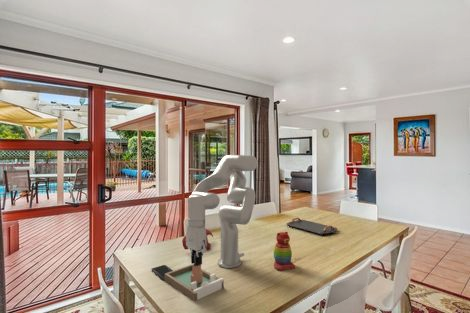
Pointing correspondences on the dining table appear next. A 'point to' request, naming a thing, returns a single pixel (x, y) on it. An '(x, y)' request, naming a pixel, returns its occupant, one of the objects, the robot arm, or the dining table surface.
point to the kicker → (196, 273)
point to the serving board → (312, 226)
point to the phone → (161, 271)
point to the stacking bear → (283, 252)
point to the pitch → (193, 290)
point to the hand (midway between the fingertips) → (196, 263)
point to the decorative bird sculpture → (207, 241)
